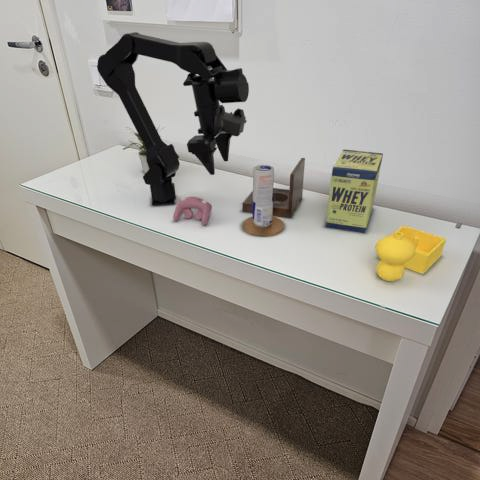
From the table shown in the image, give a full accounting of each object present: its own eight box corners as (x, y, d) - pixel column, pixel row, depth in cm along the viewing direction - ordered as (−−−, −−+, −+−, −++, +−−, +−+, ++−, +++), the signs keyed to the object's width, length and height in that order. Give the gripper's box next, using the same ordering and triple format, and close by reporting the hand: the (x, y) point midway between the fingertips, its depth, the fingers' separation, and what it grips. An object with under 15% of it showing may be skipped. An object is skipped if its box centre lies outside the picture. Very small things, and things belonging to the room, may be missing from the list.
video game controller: (211, 226, 119) (214, 199, 117) (205, 226, 114) (208, 198, 113) (178, 221, 121) (181, 195, 120) (171, 221, 117) (173, 194, 115)
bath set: (399, 242, 107) (409, 200, 100) (440, 256, 102) (454, 213, 95) (357, 276, 95) (365, 232, 89) (402, 294, 90) (414, 248, 83)
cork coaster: (245, 238, 110) (245, 236, 110) (239, 218, 118) (239, 216, 118) (288, 234, 111) (288, 232, 111) (279, 215, 119) (279, 213, 119)
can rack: (242, 211, 122) (242, 203, 120) (256, 193, 131) (256, 185, 130) (291, 218, 118) (292, 209, 117) (302, 199, 128) (302, 191, 126)
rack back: (287, 217, 118) (290, 174, 111) (298, 198, 128) (301, 157, 120) (291, 218, 118) (294, 174, 111) (301, 199, 128) (305, 157, 120)
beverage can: (272, 220, 116) (274, 163, 107) (271, 229, 112) (273, 171, 103) (253, 219, 117) (253, 163, 107) (252, 228, 113) (252, 170, 103)
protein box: (324, 227, 114) (331, 168, 104) (335, 203, 125) (343, 148, 115) (365, 233, 111) (376, 173, 101) (373, 208, 122) (383, 152, 112)
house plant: (119, 170, 148) (109, 119, 138) (153, 160, 156) (146, 111, 145) (142, 181, 140) (134, 128, 130) (177, 170, 147) (171, 119, 137)
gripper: (223, 113, 96) (234, 181, 106) (251, 91, 109) (259, 154, 118) (179, 116, 100) (194, 182, 110) (211, 94, 113) (222, 155, 123)
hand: (219, 167), depth 115 cm, fingers open, 9 cm apart
